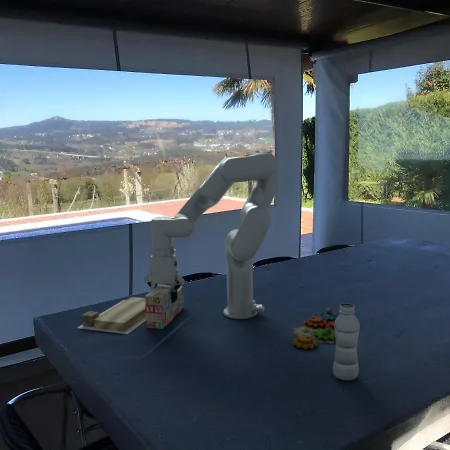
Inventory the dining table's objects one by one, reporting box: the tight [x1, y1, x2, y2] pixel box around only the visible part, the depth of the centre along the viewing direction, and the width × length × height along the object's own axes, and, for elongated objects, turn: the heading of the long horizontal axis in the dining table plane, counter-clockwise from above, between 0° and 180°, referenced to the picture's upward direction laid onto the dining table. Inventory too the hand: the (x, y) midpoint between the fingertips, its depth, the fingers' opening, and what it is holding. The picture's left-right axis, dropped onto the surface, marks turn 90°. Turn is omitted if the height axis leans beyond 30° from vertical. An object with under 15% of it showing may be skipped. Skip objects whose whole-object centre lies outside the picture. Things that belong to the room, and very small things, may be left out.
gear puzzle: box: [291, 308, 338, 350], centre depth 150 cm, size 31×16×4 cm, turn 141°
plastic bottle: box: [332, 302, 361, 381], centre depth 119 cm, size 6×7×20 cm
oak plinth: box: [94, 296, 146, 332], centre depth 166 cm, size 12×25×3 cm, turn 161°
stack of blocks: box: [144, 284, 185, 330], centre depth 164 cm, size 21×6×12 cm, turn 165°
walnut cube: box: [81, 310, 100, 327], centre depth 160 cm, size 4×4×4 cm
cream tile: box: [76, 299, 146, 335], centre depth 168 cm, size 20×30×1 cm, turn 161°
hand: (165, 300), depth 164 cm, fingers closed on stack of blocks, 6 cm apart
